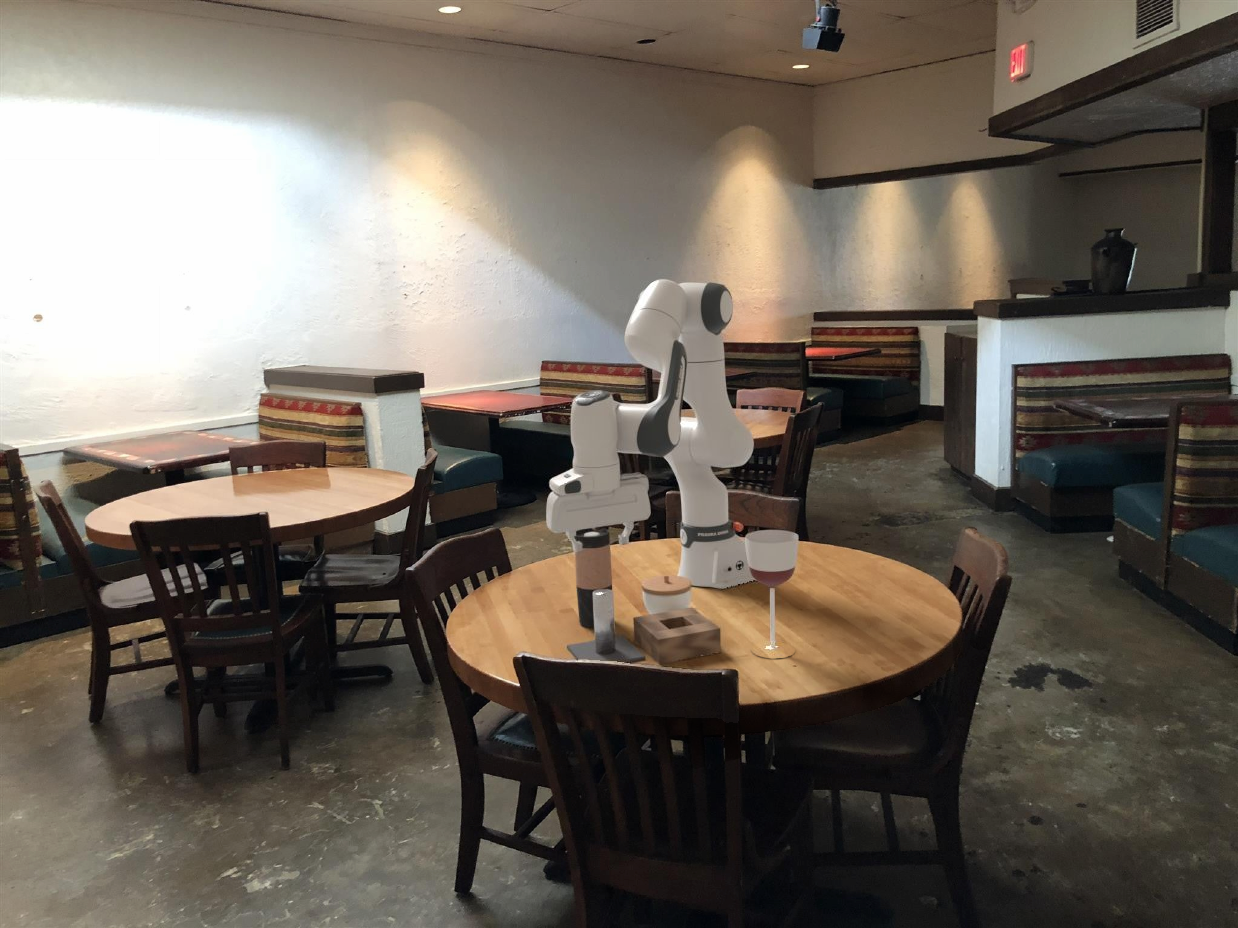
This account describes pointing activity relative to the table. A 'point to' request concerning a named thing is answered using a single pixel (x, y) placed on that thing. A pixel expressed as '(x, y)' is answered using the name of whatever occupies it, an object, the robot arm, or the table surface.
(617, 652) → the mat
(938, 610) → the table surface
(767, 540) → the wineglass
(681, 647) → the block
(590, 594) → the travel mug
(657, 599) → the lidded jar
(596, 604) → the peg
